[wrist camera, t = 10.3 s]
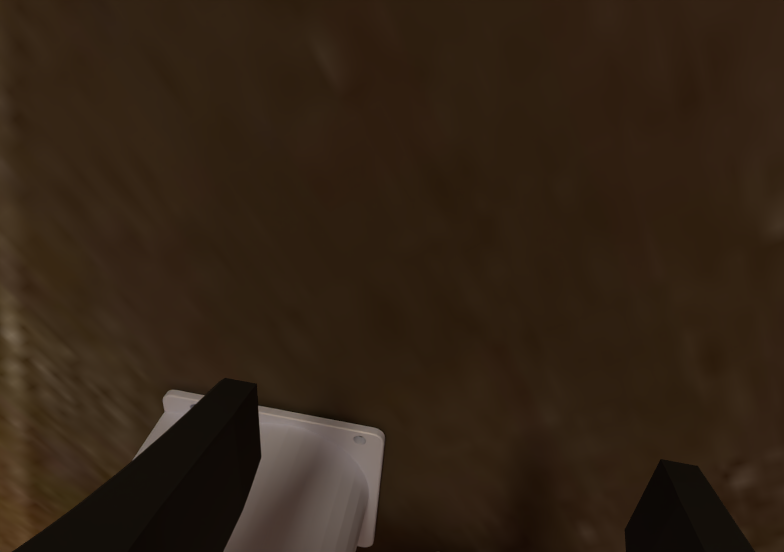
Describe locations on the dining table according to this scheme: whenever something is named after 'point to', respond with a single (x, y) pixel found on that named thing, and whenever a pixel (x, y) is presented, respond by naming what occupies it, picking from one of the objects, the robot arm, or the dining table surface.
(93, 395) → the dining table surface
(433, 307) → the dining table surface
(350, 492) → the robot arm
